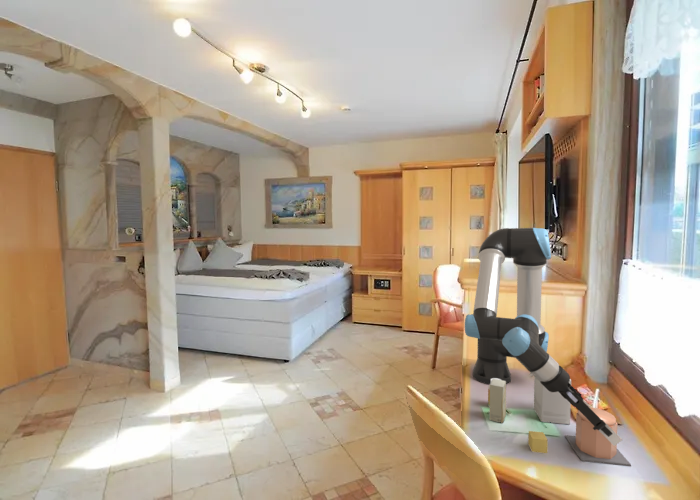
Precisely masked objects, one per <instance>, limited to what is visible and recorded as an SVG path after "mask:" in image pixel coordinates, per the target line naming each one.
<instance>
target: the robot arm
mask: <svg viewBox="0 0 700 500" xmlns="http://www.w3.org/2000/svg"><path fill="white" fill-rule="evenodd" d="M550 244H551V243H550V238H549V231H548V230H547V229H545V228H541V227H539V228H537V227H518V228H517V227H515V228H514V227H513V228H509V227H507V228H506V227H505V228H499V229H497V230H495V231H493V232H492V233H491V234H489V235H488V236H487V237H486V238H485V239H484V241H483V242H482V243H481V245H480V248H479V250H478V260H479V262H480V263H479V269H478V276H477V283H476V289H475V290H476V291H475V298H474V304H473V305H474V306H473V313H471V314H470V313H469V314H466V316H465V319H464V333H465V335H466V336H467V337H469V338H473V339H477V353H476V354H477V358H476V362H475V365H474V367H473V370H472V377H473V379H474V380H475V381H477V382H480V383H481V384H486V385H490V380H491V379H492V378H498V379H501V380H503V381H506V385H508V384H510V383H511V381H512V375H511V372H510V369H509V366H508V363H507V358H514V359H516V360H517V361H518V362H519V363H520V364H521V365H522V366H523V367H524V368H525V369H526V370H527V371H528V372H529V376H530V377H534V376H535V378H536V379H537V380H539V381H540V383H541V384H542V385H543V386H544V387H545V388H546V389H547V390H548V391H550V392H559V393H560V394H561V395H562V396H563V397H564V398H565V399H567V400H568V401H569V402H570V403H571V406H572V407H575V408H576V409H577V411H578V410H579V411H580V412H581V413H582V414H583V415H584V416H585V417H586V418H587V419H588V420H589V421H590V422H591V423H592V424H593V425H594V427H593V429H594V430H596V429H597V430H599V431H600V432H601V433H602V434H603V435H604V436H605V437H606V438H607V439H608V440H609V441H610V442H611V443H612V444H613V445H614V446H615V445H617V446H618V444H619V443H621V442H622V441H623V438H621V437H620V435H618V433H617V434H616V433H615V432H614V431H613V430H612V429H611V428H610V427H609V426H608V425H607V424H606V423H605V422H604V421H603V420H601V419H600V418H599V417H598V416H597V415H596V414H595V413H594V412H593V411H592V410H591V409H590V408H589V407H592V406H591V405H590V404H589V403H588V402H587V401H586V400H585V399H584V398H583V397H582V393H580V391H577V389H576V388H575V387H574V386H573V384H572V383H571V384H570V383H569V380H570V379H571V376H570V374H569V372H568V371H566V370H565V369H564V368H563V367H562V366H561V365H560V364H559V362H558V361H556V359H555V358H553V356H552V355H550V354H549V353H548V345H549V333H548V332H547V331H546V329H545V327H544V326H543V325H542V323H541V320H542V319H541V318H542V317H541V316H542V287H543V286H542V284H543V283H542V279H543V268H544V266H546V265H547V264H548V261H547V260H551V258H552V255H551V246H550ZM506 259H513V261H512V263H513V264H514V265H515V266H516V267H517V273H516V274H517V275H516V277H517V278H516V284H517V285H516V316H515V318H511V317H510V318H509V317H500V316H497V315H498V304H499V294H500V285H501V276H502V275H501V272H502V264H503V263H504V262H505V261H506Z"/></svg>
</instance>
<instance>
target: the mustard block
mask: <svg viewBox="0 0 700 500" xmlns="http://www.w3.org/2000/svg"><path fill="white" fill-rule="evenodd" d="M527 438H528V439H527V441H528V442H527V443H528V444H527V445H528V447H529V448H530V450H531V452H532V453H541V454H548V445H549V442H548V438H547V436H546V434H545V433H544V432H543V431H534V430H528V437H527Z"/></svg>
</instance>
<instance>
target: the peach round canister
mask: <svg viewBox="0 0 700 500" xmlns="http://www.w3.org/2000/svg"><path fill="white" fill-rule="evenodd" d="M589 408H590V409H591V410H592V411H593V412H594V413H595V414H596V415H597V416H598V417H599V418H600V419H601V420H603V421H604V422H605V423H606V424H607V425H608V426H609V427H610V428H611V429H612V430H613V431H614V432H615V433H616V434H617V435H618V422H617V418H616V416H615V415H613V414H612V413H611V412H608V411H606V410H604V409H601V408H596V407H592V406H591V407H589ZM575 415H576V419H575V436H576V444H577V446H578V447H579V449H580V450H581V451H583V452H585V453H587V454H589V455H591V456H593V457H596V458H605V459H611V458H613V457H614V456H615V455H616V452H617V449H618V444H617V445H615V446H614V445H613V444H612V443H611V442H610V441H609V440H608V439H607V438H606V437H605V436H604V435H603V434H602V433H601V432H600V431H599V430H597V429H596V430H594V429H593V427H594V425H593V424H592V423H591V422H590V421H589V420H588V419H587V418H586V417H585V416H584V415H583V414H582V413H581V412H580V411H579V410H578V409H577V412H576V413H575Z"/></svg>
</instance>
